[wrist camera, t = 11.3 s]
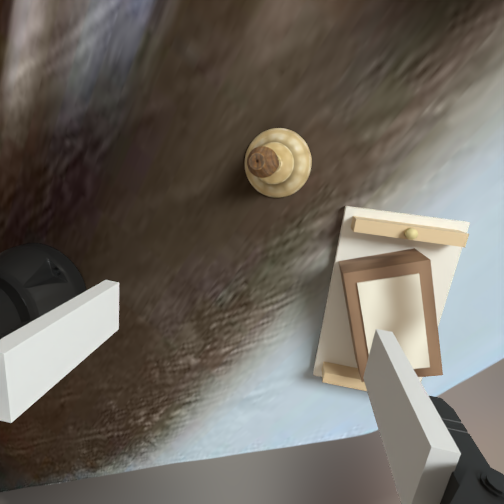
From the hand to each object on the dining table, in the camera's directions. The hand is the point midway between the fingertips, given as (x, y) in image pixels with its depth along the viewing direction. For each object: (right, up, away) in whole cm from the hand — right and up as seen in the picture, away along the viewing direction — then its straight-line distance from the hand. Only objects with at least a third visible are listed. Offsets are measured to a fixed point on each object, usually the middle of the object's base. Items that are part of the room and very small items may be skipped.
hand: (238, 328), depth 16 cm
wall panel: (+18, -3, +25) cm, 31 cm away
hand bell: (+4, +15, +23) cm, 28 cm away
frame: (+18, -3, +24) cm, 30 cm away
